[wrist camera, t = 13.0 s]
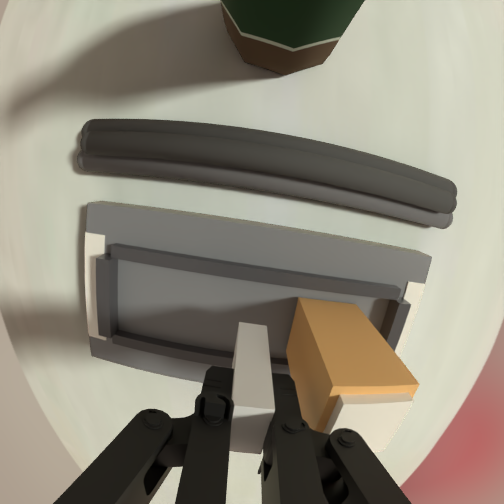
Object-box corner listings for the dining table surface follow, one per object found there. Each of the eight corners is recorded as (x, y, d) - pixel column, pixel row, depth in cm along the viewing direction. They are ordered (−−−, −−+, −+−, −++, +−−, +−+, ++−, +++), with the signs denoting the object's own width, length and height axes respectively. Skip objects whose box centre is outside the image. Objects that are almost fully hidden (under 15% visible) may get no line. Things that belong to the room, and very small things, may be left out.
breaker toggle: (298, 297, 18) (336, 396, 9) (355, 304, 18) (425, 392, 9) (285, 350, 19) (306, 461, 10) (340, 354, 19) (387, 455, 10)
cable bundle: (84, 170, 18) (59, 170, 15) (91, 121, 18) (69, 114, 15) (441, 228, 19) (465, 235, 16) (449, 182, 19) (474, 183, 15)
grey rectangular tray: (101, 200, 19) (76, 204, 16) (418, 250, 20) (442, 261, 16) (101, 344, 22) (83, 364, 18) (374, 381, 22) (388, 404, 19)
